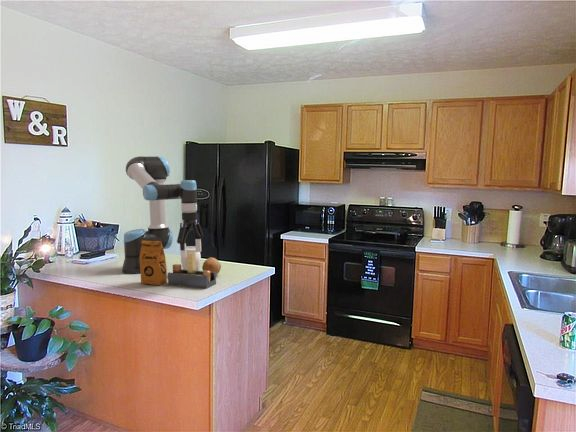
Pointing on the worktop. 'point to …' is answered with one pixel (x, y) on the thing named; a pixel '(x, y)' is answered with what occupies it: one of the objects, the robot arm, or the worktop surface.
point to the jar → (197, 257)
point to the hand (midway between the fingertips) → (191, 254)
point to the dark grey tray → (191, 278)
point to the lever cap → (191, 263)
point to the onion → (212, 265)
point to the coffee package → (152, 263)
